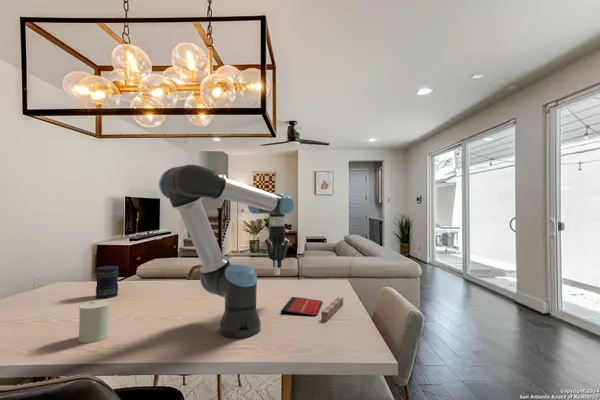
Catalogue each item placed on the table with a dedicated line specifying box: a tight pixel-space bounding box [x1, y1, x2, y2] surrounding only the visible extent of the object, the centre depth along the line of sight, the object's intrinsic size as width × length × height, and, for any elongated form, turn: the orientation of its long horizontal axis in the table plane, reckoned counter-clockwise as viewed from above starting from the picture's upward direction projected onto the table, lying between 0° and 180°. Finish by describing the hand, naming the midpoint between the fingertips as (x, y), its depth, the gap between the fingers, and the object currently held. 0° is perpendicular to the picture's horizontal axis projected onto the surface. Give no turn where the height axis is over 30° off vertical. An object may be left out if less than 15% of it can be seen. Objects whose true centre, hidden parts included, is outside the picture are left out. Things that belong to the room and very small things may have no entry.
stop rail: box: [321, 296, 344, 322], centre depth 133 cm, size 23×2×4 cm, turn 155°
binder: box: [280, 296, 323, 317], centre depth 139 cm, size 16×2×21 cm
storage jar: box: [95, 265, 120, 300], centre depth 156 cm, size 10×10×15 cm
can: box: [78, 300, 111, 344], centre depth 106 cm, size 9×9×12 cm
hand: (277, 274), depth 145 cm, fingers closed
